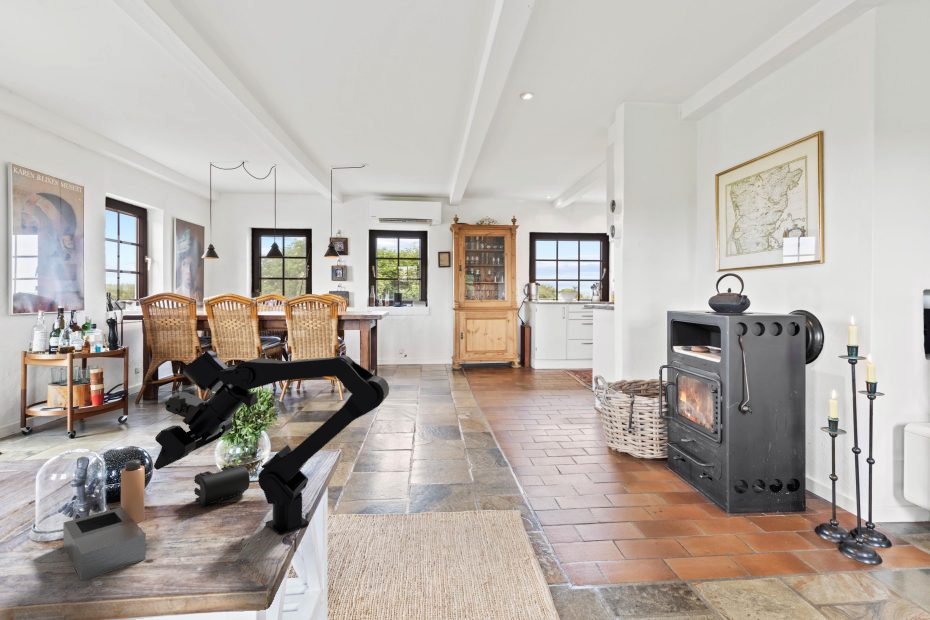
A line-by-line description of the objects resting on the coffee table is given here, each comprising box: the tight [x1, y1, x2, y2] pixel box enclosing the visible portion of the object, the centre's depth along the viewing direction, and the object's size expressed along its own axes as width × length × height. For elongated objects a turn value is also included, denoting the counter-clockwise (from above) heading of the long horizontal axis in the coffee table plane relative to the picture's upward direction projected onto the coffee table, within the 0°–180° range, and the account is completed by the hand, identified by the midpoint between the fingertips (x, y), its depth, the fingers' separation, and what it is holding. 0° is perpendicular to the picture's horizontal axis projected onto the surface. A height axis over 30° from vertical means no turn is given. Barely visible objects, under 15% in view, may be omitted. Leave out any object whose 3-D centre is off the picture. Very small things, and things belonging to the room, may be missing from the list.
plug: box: [120, 459, 146, 525], centre depth 98 cm, size 4×4×12 cm
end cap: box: [193, 464, 251, 507], centre depth 109 cm, size 10×7×7 cm
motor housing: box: [62, 506, 147, 582], centre depth 86 cm, size 16×9×4 cm, turn 49°
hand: (170, 460), depth 97 cm, fingers open, 9 cm apart
